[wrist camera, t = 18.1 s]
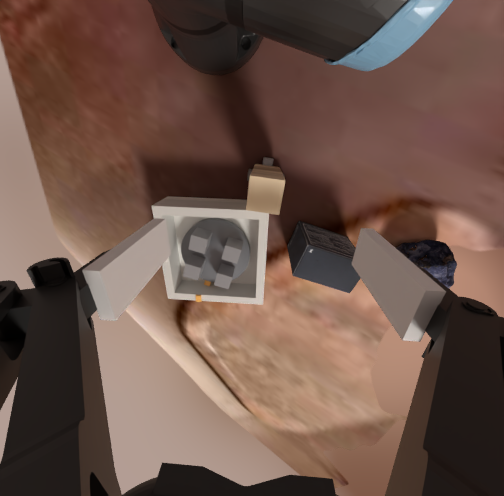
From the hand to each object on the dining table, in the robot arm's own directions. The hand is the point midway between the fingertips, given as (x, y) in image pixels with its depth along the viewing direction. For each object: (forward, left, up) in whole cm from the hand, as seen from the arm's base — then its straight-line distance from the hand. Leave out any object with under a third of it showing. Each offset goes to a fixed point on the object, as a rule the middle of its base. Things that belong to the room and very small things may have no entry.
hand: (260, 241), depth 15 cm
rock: (+15, +29, -27) cm, 42 cm away
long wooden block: (0, 0, -27) cm, 27 cm away
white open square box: (+13, -8, -27) cm, 31 cm away
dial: (+14, -9, -24) cm, 29 cm away
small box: (+12, +11, -27) cm, 32 cm away
